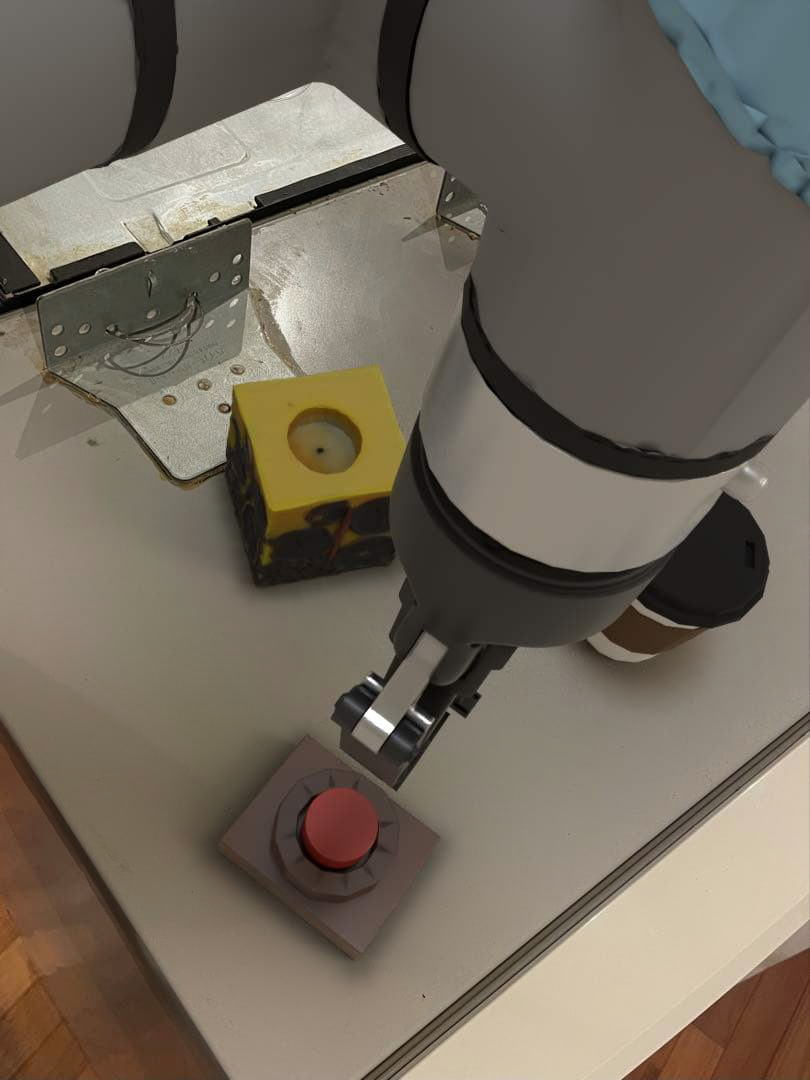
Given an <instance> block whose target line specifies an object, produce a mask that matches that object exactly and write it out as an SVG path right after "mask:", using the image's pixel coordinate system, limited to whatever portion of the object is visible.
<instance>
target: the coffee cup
mask: <svg viewBox="0 0 810 1080" xmlns="http://www.w3.org/2000/svg"><path fill="white" fill-rule="evenodd" d="M770 564H771V561H770V555H769V550H768V545H767V540H766V536H765V534H764V532H763V530H762V529H761V527H760V525H759V524H758V522H757V520H756V519H755V517H754V515H753V514H752V512H751V510H750V509H749V508H748V507H747V506H745V504H743V503H742V501H740V500H736V499H734V498H733V497H731V496H730V495H728V494H727V493H725V492H724V491H723V492H722V494H721V495H720V496H719V498H718V499H717V501H716V502H715V504H714V505H713V507H712V508H711V509H710V510H709V512H708V513H707V514H706V515H705V516H704V517H703V518H702V520H701V521H700V522H699V523H698V524H697V525H696V526H695V528H694V529H693V530H692V531H691V532H690V533H689V534H688V536H687V537H686V538H685V539H684V540H683V541H682V542H681V543H680V544H679V545H678V547H677V548H676V550H675V552H674V554H673V555H672V557H671V558H670V559H669V560H668V562H667V563H666V564H665V566H664V567H663V568H662V569H661V570H660V571H659V572H658V574H657V575H656V576H655V577H654V578H653V579H652V580H651V582H650V583H649V584H648V585H647V586H646V587H645V588H644V590H643V591H642V592H641V593H640V594H639V595H638V596H637V598H636V599H635V600H634V601H633V602H632V603H631V604H630V606H629V607H628V608H627V609H626V610H625V611H624V612H623V614H622V615H621V616H620V617H619V618H618V619H617V620H615V621H614V622H613V623H612V624H611V625H609V626H608V627H607V628H605V629H604V630H602V631H600V632H599V633H597V634H595V635H593V636H591V637H589V638H587V639H586V641H587V642H588V643H589V644H590V645H591V646H592V647H593V648H594V649H595V650H596V651H597V652H598V653H600V654H601V655H603V656H606V657H607V658H610V659H612V660H613V661H617V662H618V661H619V662H628V663H639V662H643V661H645V660H648V659H651V658H654V657H655V656H657V655H659V654H662V653H665V652H668V651H672V650H674V649H676V648H677V647H679V646H682V645H683V644H685V643H687V642H688V641H690V640H692V639H694V638H696V637H697V636H699V635H701V634H703V633H705V632H706V631H708V630H710V629H711V630H712V629H716V628H719V627H722V626H726V625H729V624H732V623H733V624H734V623H736V622H740V621H741V620H742V618H744V617H745V616H747V614H748V613H749V612H750V611H751V610H752V609H753V608H754V607H755V606H756V605H757V604H758V603H759V602H760V601H761V600H762V599H763V598H764V595H765V591H766V586H767V584H768V583H767V582H768V578H769V576H770V575H769V574H770Z"/></svg>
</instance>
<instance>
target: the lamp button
mask: <svg viewBox="0 0 810 1080" xmlns="http://www.w3.org/2000/svg"><path fill="white" fill-rule="evenodd" d="M377 831H378V819H377V815H376V812H375V810H374V808H373V806H372V804H371V803H370V802H369V800H368V799H367V798H366V797H365V796H363V795H362V794H360V793H359V792H357V791H355V790H352V789H348V788H333V789H329V790H327V791H325V792H323V793H321V794H320V795H318V796H317V797H316V798H315V799H314V800H313V802H312V803H311V805H310V806H309V808H308V811H307V813H306V815H305V817H304V820H303V823H302V830H301V833H302V841H303V844H304V846H305V849H306V850H307V852H308V854H309V855H310V856H311V857H312V858H313V859H314V860H315V861H316V862H318V863H319V864H321V865H323V866H326V867H329V868H335V869H340V868H346V867H349V866H352V865H354V864H356V863H357V862H359V861H360V860H361V859H362V858H363V857H364V856H365V854H366V853H367V852H368V850H369V849H370V848H371V846H372V845H373V843H374V841H375V839H376V836H377Z"/></svg>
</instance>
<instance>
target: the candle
mask: <svg viewBox="0 0 810 1080" xmlns="http://www.w3.org/2000/svg"><path fill="white" fill-rule="evenodd" d="M231 389H232V390H231V405H230V409H231V413H230V416H229V427H228V430H227V437H226V446H225V453H224V454H225V459H226V464H225V467H224V477H225V478H226V479H227V484H228V485H229V493H230V495H231V497H232V499H233V506H234V508H235V510H234V514H235V516H236V519H237V522H238V526H239V528H240V531H241V534H242V540H243V543H244V547H245V553H246V554H247V556H248V558H249V563H250V569H251V571H252V581H253V582H254V583H255V585H257V586H262V587H263V586H274V585H277V584H280V583H287V584H289V583H293V582H297V581H299V580H301V579H302V580H303V579H305V580H308V579H311V578H317V577H319V576H329V575H332V574H341V573H342V572H347V571H350V570H354V569H363V568H368V567H373V566H377V565H387V566H388V565H389V564H390V563H391V562H392V561H394V560H395V559H396V553H397V552H396V550H395V546H394V543H393V540H392V535H391V530H390V522H389V503H390V495H391V490H392V486H393V483H394V480H395V477H396V474H397V471H398V469H399V466H400V463H401V460H402V457H403V455H404V452H405V449H406V446H407V443H406V439H405V437H404V434H403V431H402V429H401V425H400V424H399V421H398V419H397V415H396V413H395V410H394V407H393V404H392V399H391V397H390V392H389V390H388V387H387V385H386V381H385V378H384V375H383V371H382V369H381V368H380V366H378V365H377V364H374V365H373V364H372V365H366V366H359V367H353V368H346V369H340V370H332V371H328V372H321V373H313V374H307V375H301V376H292V377H286V378H276V379H269V380H259V381H249V382H242V383H238V384H233V385H232V388H231Z"/></svg>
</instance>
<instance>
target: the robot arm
mask: <svg viewBox="0 0 810 1080" xmlns="http://www.w3.org/2000/svg"><path fill="white" fill-rule="evenodd" d="M312 83H316V84H317V83H318V84H319V83H320V84H326V85H328V86H332V87H334V88H335V89H336V90H338V91H339V92H341V93H342V94H343V95H344V96H345V97H347V98H348V99H349V100H351V101H352V102H353V103H355V104H356V105H357V106H358V107H360V109H362V110H363V111H364V112H365V113H366V114H368V115H370V117H372V118H373V119H374V120H375V121H377V122H378V123H379V124H380V125H382V126H383V127H384V128H386V129H387V130H388V131H389V132H391V133H392V134H393V135H395V137H397V139H399V140H400V141H401V142H403V143H404V144H405V145H406V146H407V147H409V149H411V151H413V152H414V153H415V154H416V155H418V156H419V157H420V158H421V159H422V160H424V161H425V162H428V163H430V164H432V165H434V166H437V167H440V168H442V169H443V170H444V171H446V172H447V173H448V174H449V175H450V176H451V177H453V178H454V179H456V181H458V182H459V183H461V184H462V185H463V186H465V187H466V188H467V189H469V190H470V191H471V192H472V193H474V194H475V195H476V196H477V197H479V200H481V203H482V204H483V205H484V207H485V208H486V214H485V218H484V221H483V224H482V225H483V226H482V230H481V233H480V237H479V242H478V245H477V249H476V252H475V255H474V259H473V262H472V265H471V267H470V269H469V272H468V274H467V277H466V278H465V281H464V283H463V285H462V288H461V290H460V293H459V295H458V298H457V301H456V304H455V306H454V308H453V309H454V310H453V312H452V314H451V317H450V320H449V323H448V325H447V328H446V330H445V333H444V336H443V339H442V342H441V344H440V347H439V350H438V352H437V356H436V358H435V360H434V363H433V366H432V367H431V371H430V374H429V376H428V379H427V381H426V382H427V383H426V384H425V387H424V390H423V393H422V398H421V406H420V409H419V411H418V415H417V417H416V420H415V422H414V424H413V427H412V430H411V433H410V434H409V438H408V440H407V443H406V449H405V452H404V455H403V457H402V460H401V463H400V466H399V469H398V471H397V474H396V477H395V480H394V483H393V486H392V490H391V495H390V503H389V522H390V530H391V535H392V540H393V543H394V546H395V550H396V552H395V553H396V555H397V558H398V561H399V562H400V564H401V567H402V569H403V572H404V574H405V575H406V577H405V579H404V580H403V583H402V585H401V587H400V590H399V592H398V599H399V601H400V604H401V606H400V608H399V610H398V613H397V616H396V618H395V620H394V621H393V624H392V627H391V628H390V631H389V632H388V639H389V641H390V643H391V644H392V646H393V650H394V653H395V654H394V656H393V659H392V661H391V663H390V664H389V666H388V669H387V671H386V673H385V675H384V677H381V675H379V674H378V673H376V672H375V671H373V670H370V671H368V672H367V673H366V675H365V676H364V678H363V679H362V680H361V682H360V683H359V684H356V685H354V686H353V687H352V688H351V689H350V690H349V691H346V692H342V694H341V695H340V696H339V697H338V699H337V700H336V701H335V703H334V705H333V707H334V711H333V712H332V714H331V717H330V720H331V721H332V722H334V724H336V725H337V726H338V727H340V735H339V736H340V737H339V738H340V740H339V750H341V751H342V752H344V753H345V754H346V755H347V756H348V757H350V758H351V759H352V760H354V761H355V762H357V763H358V764H359V765H360V766H361V767H363V768H364V769H366V770H367V771H368V772H370V773H371V774H372V775H373V776H374V777H375V778H377V779H379V780H380V781H382V782H383V783H384V784H385V785H387V786H388V787H389V788H390V789H392V790H394V791H395V792H398V790H399V789H400V788H401V786H402V785H403V783H404V782H405V781H406V780H407V778H408V777H409V775H410V774H411V773H412V772H413V770H414V769H415V767H416V766H417V764H418V763H419V761H420V760H421V758H422V757H423V755H424V754H425V752H426V751H427V749H428V748H429V747H430V745H431V744H432V742H433V741H434V739H435V738H436V736H437V735H438V733H439V732H440V730H441V729H442V727H443V726H444V724H445V723H446V721H447V720H448V719H449V717H450V716H451V713H450V712H448V709H449V708H450V709H451V710H452V711H454V712H455V713H457V714H458V715H459V716H460V717H461V718H464V719H465V720H466V719H467V718H468V717H469V715H470V713H471V712H472V710H473V709H474V708H475V706H476V705H477V704H478V703H479V701H480V700H481V698H482V697H483V695H482V694H481V693H479V692H478V690H479V689H480V688H481V685H482V684H483V683H484V682H485V680H486V679H487V677H488V676H489V675H490V673H492V671H501V670H502V669H504V668H505V666H506V665H507V663H508V662H509V661H510V659H511V658H512V657H513V655H514V653H516V651H517V649H518V648H528V649H546V648H547V649H548V648H557V647H563V646H568V645H572V644H576V643H579V642H582V641H583V640H584V641H585V640H587V638H589V637H591V636H593V635H595V634H597V633H599V632H600V631H602V630H604V629H605V628H607V627H608V626H609V625H611V624H612V623H613V622H614V621H615V620H617V619H618V618H619V617H620V616H621V615H622V614H623V612H624V611H625V610H626V609H627V608H628V607H629V606H630V604H631V603H632V602H633V601H634V600H635V599H636V598H637V596H638V595H639V594H640V593H641V592H642V591H643V590H644V588H645V587H646V586H647V585H648V584H649V583H650V582H651V580H652V579H653V578H654V577H655V576H656V575H657V574H658V572H659V571H660V570H661V569H662V568H663V567H664V566H665V564H666V563H667V562H668V560H669V559H670V558H671V557H672V555H673V554H674V552H675V550H676V548H677V547H678V545H679V544H680V543H681V542H682V541H683V540H684V539H685V538H686V537H687V536H688V534H689V533H690V532H691V531H692V530H693V529H694V528H695V526H696V525H697V524H698V523H699V522H700V521H701V520H702V518H703V517H704V516H705V515H706V514H707V513H708V512H709V510H710V509H711V508H712V507H713V505H714V504H715V502H716V501H717V499H718V498H719V496H720V495H721V494H722V492H723V491H724V492H725V493H727V494H728V495H730V496H731V497H733V498H734V499H736V500H738V501H740V502H744V503H752V502H754V501H755V500H757V499H758V498H759V497H760V496H761V495H763V494H764V492H765V491H766V489H767V488H768V487H769V483H770V476H771V469H770V468H769V467H768V466H766V464H764V463H763V462H761V461H760V460H758V459H756V457H757V456H758V454H760V453H761V452H762V451H763V450H764V449H765V447H766V446H768V444H769V443H770V442H771V441H772V440H774V438H775V437H776V436H777V434H779V432H780V431H781V430H782V429H783V428H784V426H785V425H786V424H787V423H789V421H791V419H792V418H793V417H794V416H795V415H796V414H797V412H798V411H800V409H801V408H802V407H803V406H804V405H805V403H806V402H807V401H808V400H809V399H810V0H0V208H2V207H4V206H7V205H9V204H13V203H14V202H16V201H18V200H21V199H23V198H25V197H28V196H30V195H32V194H35V193H36V192H39V191H43V190H44V189H46V188H48V187H51V186H53V185H56V184H57V183H60V182H62V181H65V180H67V179H70V178H71V177H74V176H77V175H78V174H81V173H83V172H85V171H88V170H96V169H103V168H107V167H109V166H110V165H112V163H114V162H115V163H116V162H117V161H119V160H123V161H124V160H126V159H131V158H133V157H137V156H139V155H141V154H144V153H146V152H149V151H151V150H154V149H156V148H158V147H161V146H163V145H166V144H168V143H171V142H173V141H175V140H177V139H180V138H182V137H185V136H187V135H190V134H192V133H194V132H197V131H199V130H202V129H205V128H207V127H209V126H212V125H214V124H216V123H219V122H221V121H223V120H226V119H228V118H230V117H233V116H235V115H238V114H241V113H242V112H245V111H247V110H250V109H252V108H255V107H258V106H260V105H263V104H265V103H266V102H269V101H272V100H274V99H277V98H279V97H281V96H283V95H285V94H288V93H289V92H292V91H294V90H296V89H300V88H302V87H305V86H308V85H310V84H312Z"/></svg>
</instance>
